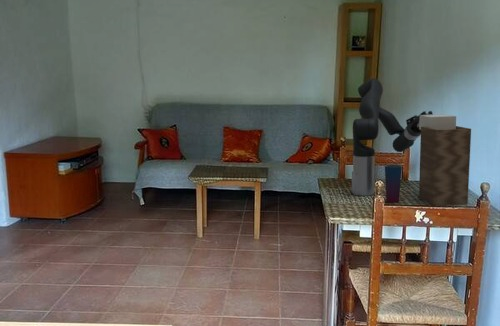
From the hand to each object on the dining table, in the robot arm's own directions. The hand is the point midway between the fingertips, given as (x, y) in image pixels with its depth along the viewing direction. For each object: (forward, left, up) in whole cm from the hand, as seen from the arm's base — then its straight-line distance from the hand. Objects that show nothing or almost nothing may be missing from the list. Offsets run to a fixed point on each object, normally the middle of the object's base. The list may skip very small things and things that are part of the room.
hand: (428, 113), depth 201 cm
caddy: (0, -4, -6) cm, 8 cm away
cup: (-20, -15, -35) cm, 43 cm away
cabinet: (0, -17, -35) cm, 39 cm away
